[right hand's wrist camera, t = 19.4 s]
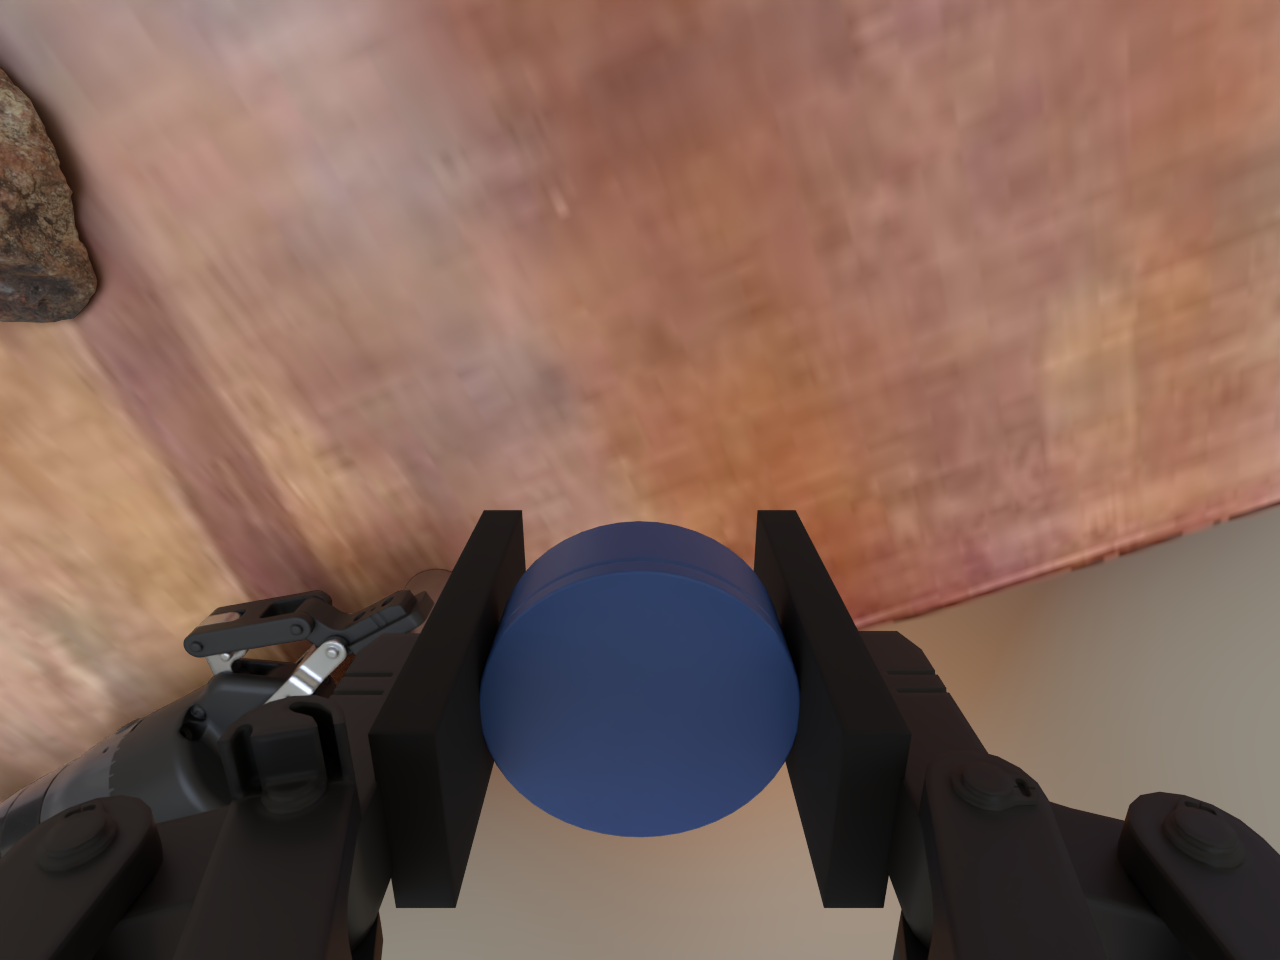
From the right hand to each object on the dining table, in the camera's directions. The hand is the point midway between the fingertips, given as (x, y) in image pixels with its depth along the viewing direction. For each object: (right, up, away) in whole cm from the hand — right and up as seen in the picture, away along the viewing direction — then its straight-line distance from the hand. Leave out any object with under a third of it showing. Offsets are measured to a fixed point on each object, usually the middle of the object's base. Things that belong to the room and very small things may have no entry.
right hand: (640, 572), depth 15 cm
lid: (0, -1, -4) cm, 4 cm away
